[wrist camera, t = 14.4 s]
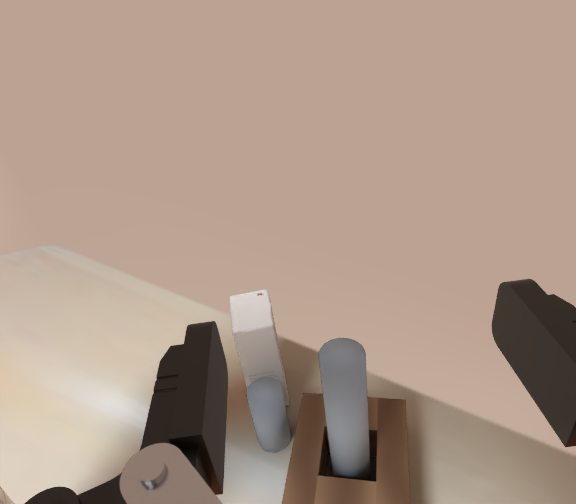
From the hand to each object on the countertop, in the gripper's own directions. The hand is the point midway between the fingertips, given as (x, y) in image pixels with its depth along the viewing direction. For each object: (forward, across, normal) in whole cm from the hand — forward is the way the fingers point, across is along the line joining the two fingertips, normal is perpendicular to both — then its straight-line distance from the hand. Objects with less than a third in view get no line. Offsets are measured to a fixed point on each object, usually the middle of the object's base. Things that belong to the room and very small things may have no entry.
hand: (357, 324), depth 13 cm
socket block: (+13, -2, +31) cm, 34 cm away
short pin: (+19, +5, +31) cm, 37 cm away
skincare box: (+25, +6, +32) cm, 41 cm away
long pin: (+13, -2, +31) cm, 34 cm away
